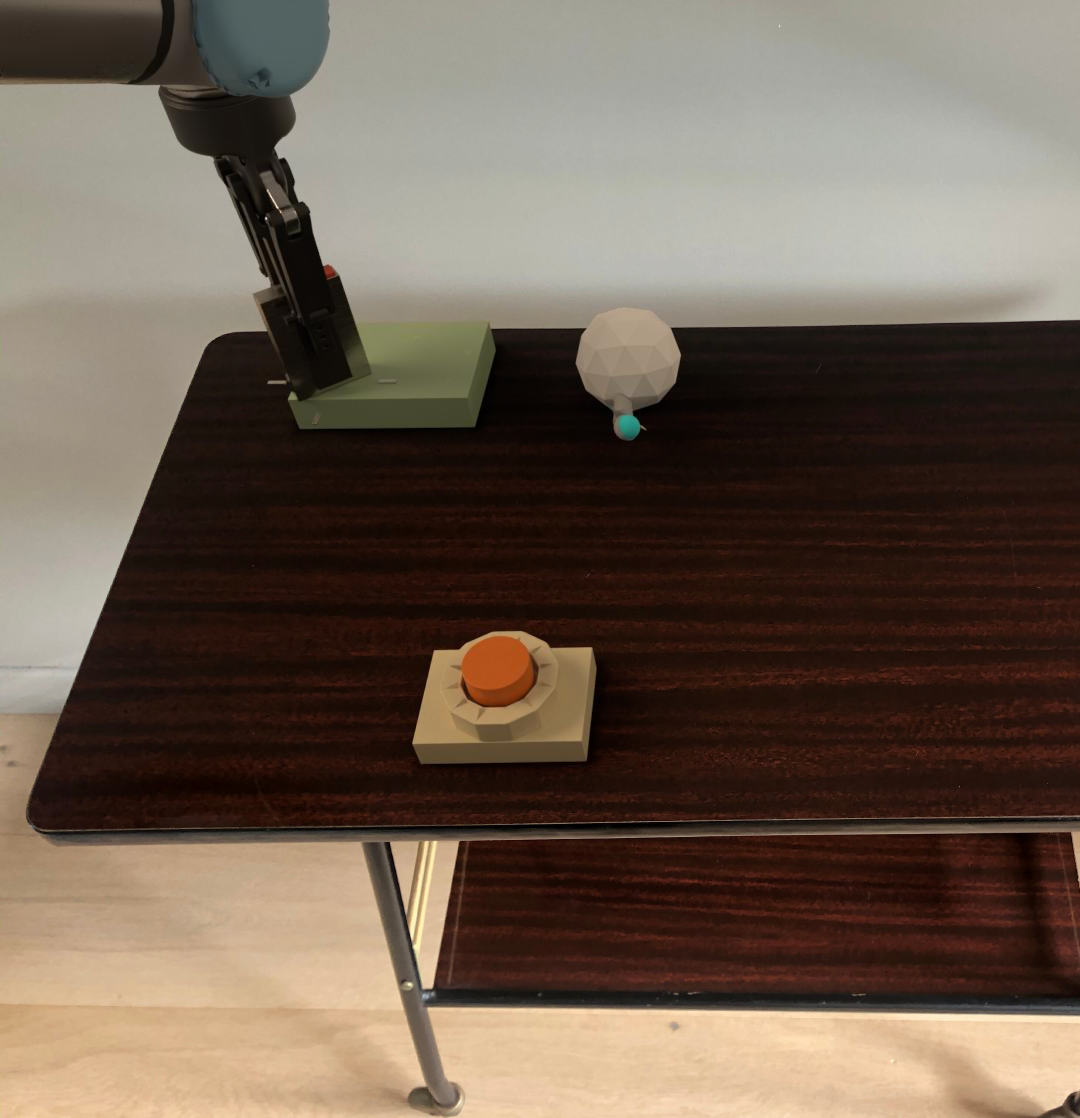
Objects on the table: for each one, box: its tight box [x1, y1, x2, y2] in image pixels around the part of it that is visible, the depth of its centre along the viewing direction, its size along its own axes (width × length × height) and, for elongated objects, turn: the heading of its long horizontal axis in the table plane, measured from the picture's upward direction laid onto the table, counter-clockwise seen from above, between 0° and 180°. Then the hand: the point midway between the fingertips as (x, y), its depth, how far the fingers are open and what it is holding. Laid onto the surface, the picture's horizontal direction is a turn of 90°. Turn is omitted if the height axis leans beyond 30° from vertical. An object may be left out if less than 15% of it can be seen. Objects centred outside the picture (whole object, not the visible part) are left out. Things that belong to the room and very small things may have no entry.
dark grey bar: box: [251, 263, 372, 402], centre depth 85 cm, size 6×2×9 cm, turn 126°
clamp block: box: [267, 320, 497, 430], centre depth 91 cm, size 16×13×3 cm
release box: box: [412, 630, 598, 765], centre depth 69 cm, size 10×7×4 cm
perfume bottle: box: [575, 306, 682, 441], centre depth 87 cm, size 8×8×12 cm
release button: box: [461, 636, 534, 707], centre depth 67 cm, size 4×4×2 cm
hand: (328, 373), depth 88 cm, fingers closed on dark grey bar, 2 cm apart
